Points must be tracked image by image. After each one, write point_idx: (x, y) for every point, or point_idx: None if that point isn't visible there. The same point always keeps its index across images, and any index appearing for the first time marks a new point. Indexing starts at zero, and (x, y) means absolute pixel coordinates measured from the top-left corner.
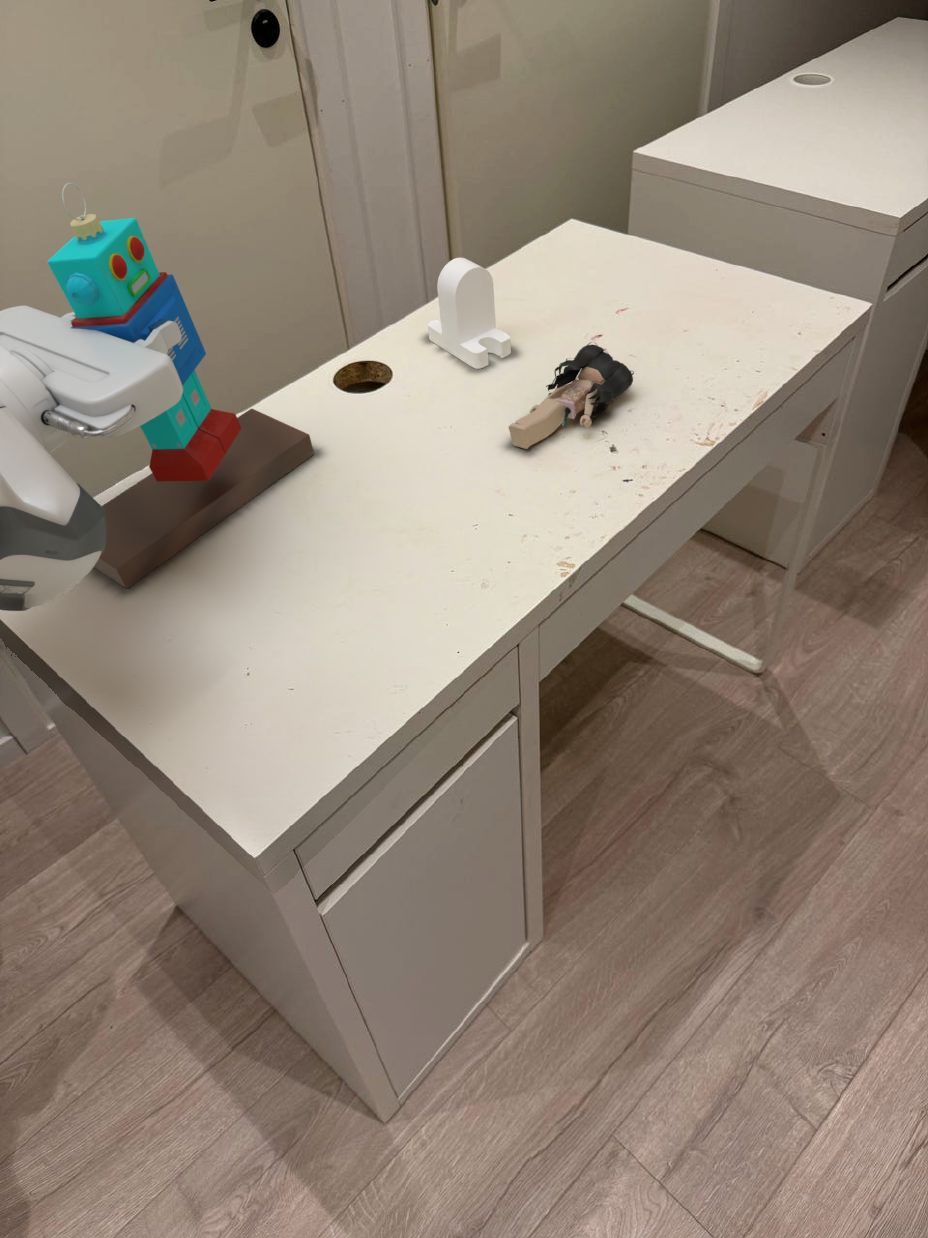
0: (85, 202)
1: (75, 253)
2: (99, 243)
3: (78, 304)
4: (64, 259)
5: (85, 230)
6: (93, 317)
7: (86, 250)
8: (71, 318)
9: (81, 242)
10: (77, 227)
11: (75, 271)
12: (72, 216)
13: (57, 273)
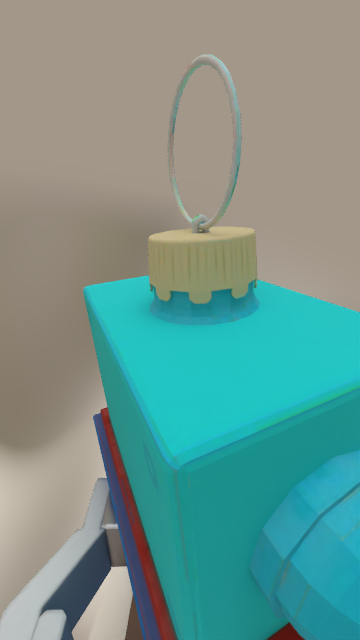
0: (177, 190)
1: (283, 354)
2: (283, 306)
3: (250, 620)
4: (301, 402)
5: (253, 259)
6: (280, 627)
7: (307, 331)
8: (48, 633)
9: (215, 313)
10: (229, 246)
11: (328, 454)
12: (230, 192)
13: (220, 518)
